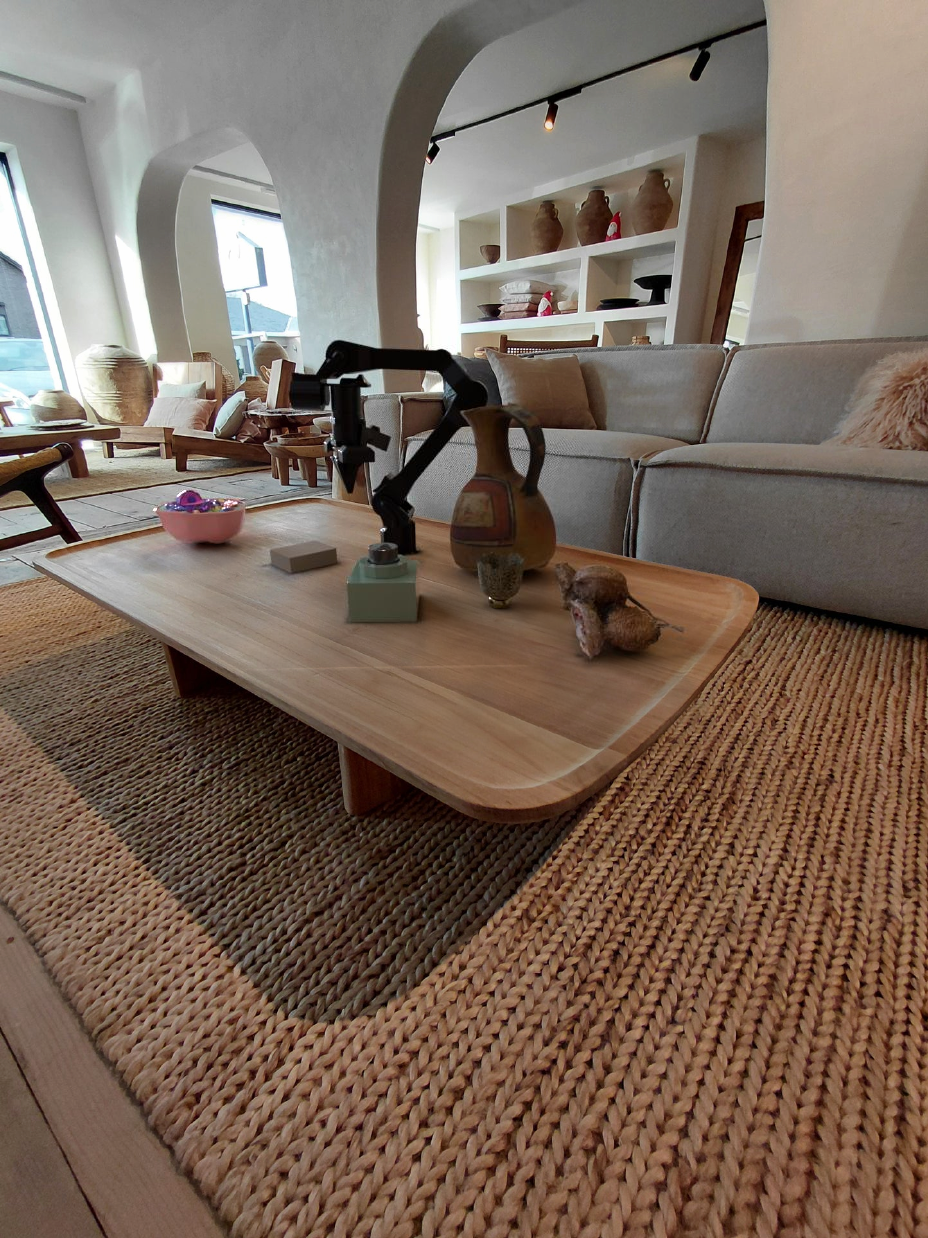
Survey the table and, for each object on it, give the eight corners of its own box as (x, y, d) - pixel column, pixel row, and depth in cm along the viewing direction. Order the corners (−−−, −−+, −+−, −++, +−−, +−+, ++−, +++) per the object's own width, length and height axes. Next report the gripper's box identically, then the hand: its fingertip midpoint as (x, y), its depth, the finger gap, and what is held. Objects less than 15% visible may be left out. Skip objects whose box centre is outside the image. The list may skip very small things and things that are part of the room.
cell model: (211, 558, 117) (201, 502, 112) (144, 546, 125) (132, 493, 120) (270, 538, 131) (264, 488, 126) (206, 529, 139) (198, 481, 134)
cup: (527, 600, 94) (529, 553, 91) (516, 617, 88) (518, 566, 85) (484, 595, 97) (484, 549, 93) (470, 611, 90) (470, 561, 87)
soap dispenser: (359, 596, 96) (355, 550, 93) (419, 596, 96) (417, 549, 93) (349, 622, 86) (345, 571, 83) (416, 621, 86) (414, 570, 83)
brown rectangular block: (316, 554, 119) (315, 540, 118) (337, 562, 114) (336, 548, 113) (271, 564, 113) (269, 549, 112) (291, 573, 107) (289, 558, 106)
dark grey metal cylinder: (371, 558, 90) (370, 542, 89) (399, 558, 90) (398, 542, 89) (367, 567, 86) (366, 550, 85) (397, 566, 86) (396, 550, 85)
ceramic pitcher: (485, 549, 123) (488, 399, 111) (572, 566, 112) (585, 401, 100) (428, 572, 108) (424, 402, 96) (521, 594, 97) (530, 405, 86)
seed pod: (578, 567, 89) (528, 559, 77) (685, 563, 79) (647, 552, 67) (576, 653, 89) (526, 657, 77) (683, 659, 79) (645, 665, 67)
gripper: (400, 416, 107) (401, 500, 113) (374, 409, 122) (376, 484, 129) (341, 415, 103) (345, 502, 109) (321, 409, 118) (325, 485, 124)
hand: (349, 493), depth 118 cm, fingers closed
